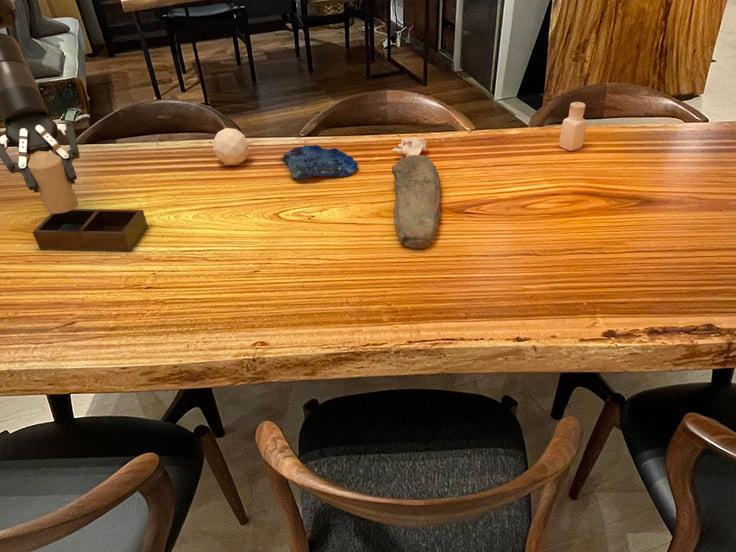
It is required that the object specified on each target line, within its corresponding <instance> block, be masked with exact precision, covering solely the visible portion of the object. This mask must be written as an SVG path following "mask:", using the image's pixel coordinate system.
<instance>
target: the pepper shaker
mask: <svg viewBox="0 0 736 552" xmlns="http://www.w3.org/2000/svg"><path fill="white" fill-rule="evenodd" d="M585 110H586V103H584V102H581V101H574V102H573V101H572V102H571V103H570V104H569V110H568V117H566V118H564V119H563V121H562V124H561V131H560V136H559V140H558V141H559V142H558V146H559V148H562V149H564V150H566V151H569V152H572V151H575V150H578V149H581V148H582V147H583V143H584V139H585V134H586V128H587V124H588V122H587V120H586V119H585V118H584V114H585Z"/></svg>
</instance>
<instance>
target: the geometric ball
mask: <svg viewBox="0 0 736 552" xmlns="http://www.w3.org/2000/svg"><path fill="white" fill-rule="evenodd" d="M212 149H213V150H212V151H213V152H214V154H215V156H216V158H217V160H219V161H220V162H221V163H223V164H224V165H225V166H238V165H240V164H241V163H243V162H245V160H246V158H247V157H248V155H249V142H248V140H247V138H246V136H245V134H244V133H242V132H241V131H240V130H238V129H237V128H231V127H225V128H223V129H221V130H219V131H217V133H216V135H215V137H214V138H213V142H212Z"/></svg>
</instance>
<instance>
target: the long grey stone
mask: <svg viewBox="0 0 736 552" xmlns="http://www.w3.org/2000/svg"><path fill="white" fill-rule="evenodd" d="M391 174H393V186H394V193H395V200H394V206H393V224H394V229H395V231H396V234H397V239H398V242H401V243H402V244H403V245H404V246H405V247H407V248H411V249H424V248H427V247H430V245H431V243H432V242H433V241H434V240H435V238H436V231H438V229H439V221H440V219H441V217H442V213H441V209H440V202H441V193H440V192H441V178H440V175H439V172H438V171H437V166H436V165H435V164H434V162H433V160H432V159H430V158H429V157H427V155H421V154H419V155H411V156H408V157H401V158H400V159H398V160H397V161H396V163H395V164H393V165H392V167H391Z"/></svg>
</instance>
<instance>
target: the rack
mask: <svg viewBox="0 0 736 552" xmlns="http://www.w3.org/2000/svg"><path fill="white" fill-rule="evenodd" d="M148 228H149V225H148V221H147V218H146V216H145V212H144V209H114V208H113V209H112V208H111V209H109V208H107V209H105V208H74V209H73V210H71V211H68V212H65V213H58V214H55V213H50V214H49V215H48V216H47V217H46V218H44V219H43V221H42V222H41V223H40V224H39V225H37V227H36V228H35V229H34V230H33V231H32V235H33V237H34V240H35V241H36V244H37V246H38V248H39V250H42V251H43V250H46V251H47V250H49V251H89V252H90V251H93V252H94V251H95V252H97V251H98V252H131V251H132V250H133V249H134V248H135V246H136V245H137V243H138V242H139V240H140V239H141V237H143V235H144V233H145V232H146V231H147V229H148Z"/></svg>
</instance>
